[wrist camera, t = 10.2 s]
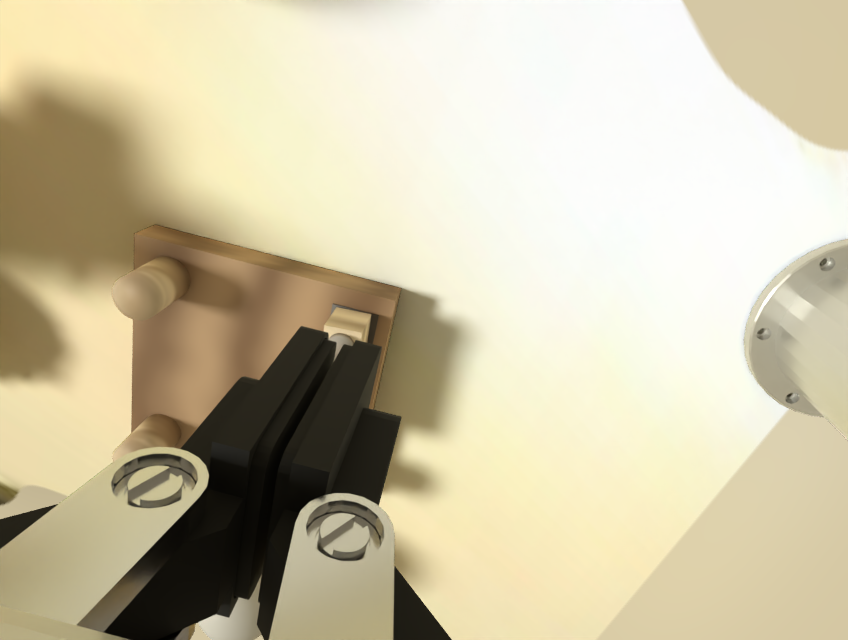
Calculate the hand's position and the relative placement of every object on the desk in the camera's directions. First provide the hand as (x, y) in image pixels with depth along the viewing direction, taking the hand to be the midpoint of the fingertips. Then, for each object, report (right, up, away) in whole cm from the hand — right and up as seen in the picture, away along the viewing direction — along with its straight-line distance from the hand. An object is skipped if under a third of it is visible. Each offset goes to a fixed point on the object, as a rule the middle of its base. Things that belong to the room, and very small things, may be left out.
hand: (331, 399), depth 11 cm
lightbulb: (-11, -16, +38) cm, 43 cm away
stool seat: (-10, -2, +32) cm, 33 cm away
